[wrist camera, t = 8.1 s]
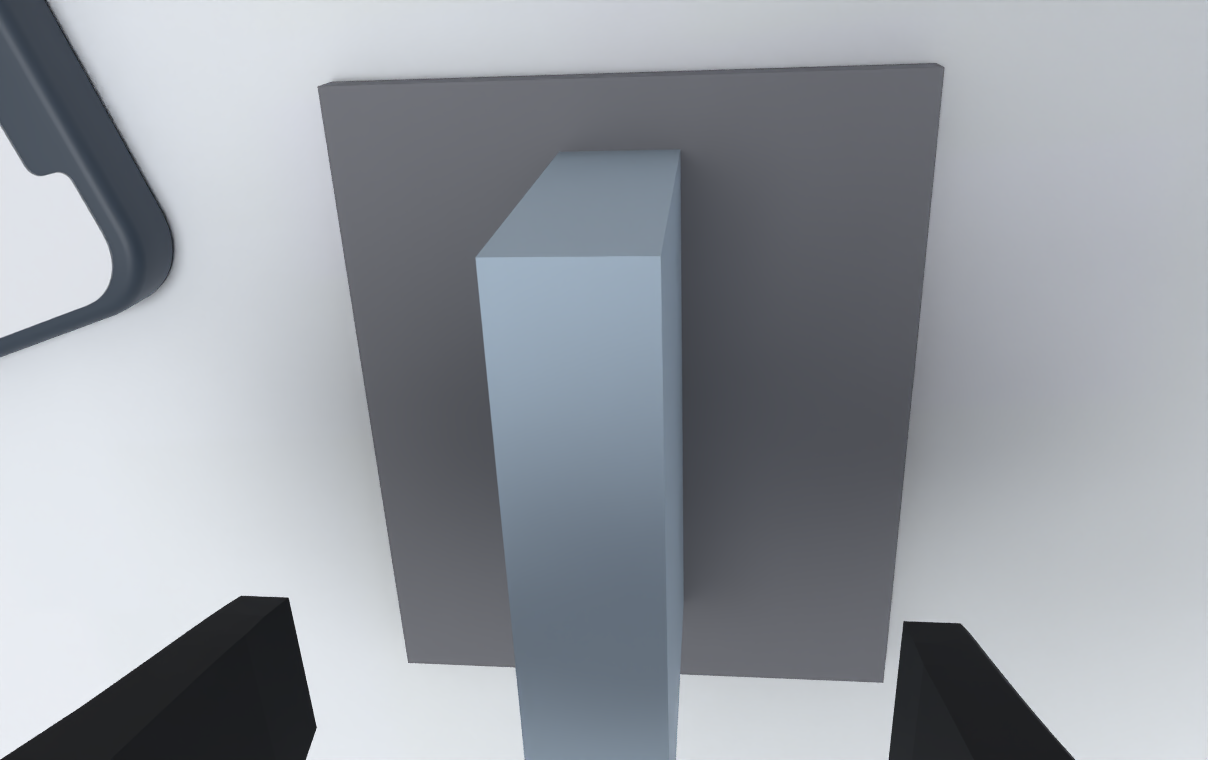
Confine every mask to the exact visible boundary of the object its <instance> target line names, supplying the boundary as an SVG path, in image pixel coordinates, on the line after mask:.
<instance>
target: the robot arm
mask: <svg viewBox="0 0 1208 760" xmlns="http://www.w3.org/2000/svg"><path fill="white" fill-rule="evenodd" d="M316 728H317V727H316V722H315V718H314V713H313V708H312V704H311V699H310V695H309V690H308V685H307V681H306V676H305V671H304V667H303V662H302V658H301V653H300V648H299V644H298V639H297V634H296V630H295V625H294V621H293V616H292V611H291V607H290V602H289V598H284V597H258V596H240V597H238V598H237V599H235V600H234V601H232V602H230V603H229V604H227V605H226V606H224V607H223V608H221V609H220V610H218V611H217V612H215V613H214V614H212V615H211V616H209V617H208V618H206V619H205V620H203V621H202V622H201V623H199V624H198V625H196V626H195V627H193V628H192V629H191V630H189V631H188V632H186V633H185V634H184V635H182V636H181V637H179V638H178V639H177V640H175V641H174V642H172V643H171V644H169V645H168V646H167V647H165V648H164V649H162V650H161V651H160V652H158V653H157V654H155V655H154V656H153V657H151V658H150V659H148V660H147V661H146V662H144V663H143V664H141V665H140V666H139V667H137V668H136V669H134V670H133V671H131V672H130V673H129V674H127V675H126V676H124V677H123V678H121V679H120V680H119V681H117V682H116V683H114V684H113V685H112V686H110V687H109V688H107V689H106V690H104V691H103V692H102V693H100V694H99V695H97V696H96V697H94V698H93V699H92V700H90V701H89V702H87V703H86V704H84V705H83V706H81V707H80V708H79V709H77V710H76V711H74V712H72V713H71V714H69V715H68V716H66V717H65V718H63V719H62V720H60V721H59V722H57V723H56V724H54V725H53V726H51V727H50V728H48V729H46V730H45V731H43V732H42V733H40V734H39V735H37V736H36V737H34V738H33V739H31V740H30V741H28V742H27V743H25V744H24V745H22V746H20V747H19V748H17V749H16V750H14V751H13V752H11V753H10V754H8V755H7V756H5V757H4V758H2V759H1V760H306V757H307V754H308V751H309V748H310V746H311V743H312V740H313V737H314V734H315V731H316ZM889 760H1075V759H1074V758H1073V757H1072V756H1071V754H1070V753H1069V752H1068V751H1067V750H1066V749H1065V748H1064V747H1063V745H1062V744H1061V743H1060V742H1059V741H1058V740H1057V739H1056V738H1055V737H1054V735H1053V734H1052V733H1051V732H1050V731H1049V730H1048V728H1047V727H1046V726H1045V725H1044V724H1043V723H1042V721H1041V720H1040V719H1039V718H1038V717H1037V716H1036V714H1035V713H1034V712H1033V711H1032V710H1031V708H1030V707H1029V706H1028V705H1027V704H1026V702H1025V701H1024V700H1023V699H1022V698H1021V696H1020V695H1019V694H1018V693H1017V692H1016V690H1015V689H1014V688H1013V687H1012V685H1011V684H1010V683H1009V682H1008V680H1007V679H1006V678H1005V677H1004V676H1003V674H1002V673H1001V672H1000V671H999V669H998V668H997V667H996V666H995V664H994V663H993V662H992V661H991V659H990V658H989V657H988V656H987V654H986V653H985V652H984V650H983V649H982V648H981V647H980V645H979V644H978V643H977V642H976V640H975V639H974V638H973V637H972V635H971V634H970V633H969V632H968V631H967V630H966V629H965V628H964V627H963V626H962V625H961V624H959V623H933V622H907V621H904V623H903V632H902V641H901V650H900V660H899V669H898V678H897V688H896V697H895V706H894V715H893V725H892V734H891V743H890V752H889Z"/></svg>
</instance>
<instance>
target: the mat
mask: <svg viewBox="0 0 1208 760" xmlns="http://www.w3.org/2000/svg"><path fill="white" fill-rule="evenodd" d="M943 76H944V67H943V66H941V65H939V64H937V63H928V64H896V65H864V66H832V67H799V68H767V69H735V70H703V71H671V72H638V73H606V74H574V75H542V76H509V77H477V78H445V79H413V80H380V81H348V82H330V83H327V84H324V85H321V86H318V92H319V99H320V105H321V111H322V118H323V124H324V130H325V137H326V143H327V150H328V156H329V162H330V169H331V175H332V181H333V188H334V194H335V200H336V207H337V213H338V219H339V226H340V232H341V239H342V245H343V251H344V258H345V264H346V270H347V277H348V283H349V289H350V296H351V302H352V308H353V315H354V321H355V328H356V334H357V340H358V347H359V353H360V359H361V366H362V372H363V378H364V385H365V391H366V398H367V404H368V410H369V417H370V423H371V429H372V436H373V442H374V448H375V455H376V461H377V467H378V474H379V480H380V487H381V493H382V499H383V506H384V512H385V518H386V525H387V531H388V537H389V544H390V550H391V556H392V563H393V569H394V576H395V582H396V588H397V595H398V601H399V607H400V614H401V620H402V626H403V633H404V639H405V645H406V652H407V658H408V663H425V664H449V665H473V666H497V667H516V665H515V655H514V645H513V635H512V625H511V614H510V604H509V594H508V584H507V574H506V564H505V553H504V543H503V533H502V523H501V513H500V503H499V492H498V482H497V472H496V462H495V452H494V441H493V431H492V421H491V411H490V401H489V391H488V380H487V370H486V360H485V350H484V340H483V330H482V319H481V309H480V299H479V289H478V279H477V269H476V258H475V257H476V256H477V255H478V254H479V252H480V251H481V250H482V249H483V247H484V246H485V245H486V244H487V242H488V241H489V240H490V238H491V237H492V236H493V235H494V233H495V232H496V231H497V230H498V228H499V227H500V226H501V225H502V223H503V222H504V221H505V220H506V218H507V217H508V216H509V214H510V213H511V212H512V211H513V209H514V208H515V207H516V206H517V204H518V203H519V202H520V201H521V199H522V198H523V197H524V196H525V194H526V193H527V192H528V190H529V189H530V188H531V187H532V185H533V184H534V183H535V182H536V180H537V179H538V178H539V177H540V175H541V174H542V173H543V172H544V170H545V169H546V168H547V166H548V165H549V164H550V163H551V161H552V160H553V159H554V158H555V156H556V155H557V154H558V153H559V152H580V151H629V150H678V149H680V161H681V297H682V433H683V569H684V607H683V627H682V646H681V666H680V674H689V675H713V676H737V677H761V678H785V679H809V680H833V681H857V682H881V683H883V680H884V670H885V660H886V650H887V640H888V630H889V620H890V610H891V600H892V590H893V580H894V569H895V559H896V549H897V539H898V529H899V519H900V509H901V499H902V489H903V479H904V469H905V459H906V449H907V439H908V429H909V418H910V408H911V398H912V388H913V378H914V368H915V358H916V348H917V338H918V328H919V318H920V308H921V298H922V288H923V278H924V267H925V257H926V247H927V237H928V227H929V217H930V207H931V197H932V187H933V177H934V167H935V157H936V147H937V137H938V126H939V116H940V106H941V96H942V86H943Z"/></svg>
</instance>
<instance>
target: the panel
mask: <svg viewBox="0 0 1208 760" xmlns="http://www.w3.org/2000/svg"><path fill="white" fill-rule="evenodd" d="M475 258H476V269H477V279H478V289H479V299H480V309H481V319H482V330H483V340H484V350H485V360H486V370H487V380H488V391H489V401H490V411H491V421H492V431H493V441H494V452H495V462H496V472H497V482H498V492H499V503H500V513H501V523H502V533H503V543H504V553H505V564H506V574H507V584H508V594H509V604H510V614H511V625H512V635H513V645H514V655H515V665H516V675H517V686H518V696H519V706H520V716H521V726H522V737H523V747H524V757H525V760H676V745H677V725H678V705H679V686H680V666H681V646H682V627H683V607H684V569H683V433H682V297H681V161H680V149H678V150H629V151H580V152H559V153H558V154H557V155H556V156H555V158H554V159H553V160H552V161H551V163H550V164H549V165H548V166H547V168H546V169H545V170H544V172H543V173H542V174H541V175H540V177H539V178H538V179H537V180H536V182H535V183H534V184H533V185H532V187H531V188H530V189H529V190H528V192H527V193H526V194H525V196H524V197H523V198H522V199H521V201H520V202H519V203H518V204H517V206H516V207H515V208H514V209H513V211H512V212H511V213H510V214H509V216H508V217H507V218H506V220H505V221H504V222H503V223H502V225H501V226H500V227H499V228H498V230H497V231H496V232H495V233H494V235H493V236H492V237H491V238H490V240H489V241H488V242H487V244H486V245H485V246H484V247H483V249H482V250H481V251H480V252H479V254H478V255H477V256H476V257H475Z"/></svg>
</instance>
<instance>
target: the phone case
mask: <svg viewBox="0 0 1208 760" xmlns="http://www.w3.org/2000/svg"><path fill="white" fill-rule="evenodd" d="M172 254H173V250H172V239H171V235H170V231H169V227H168V224H167V222H166V220H165V218H164V216H163V213H162V211H161V210H160V208H159V206H158V204H157V202H156V201H155V199H154V197H153V195H152V193H151V192H150V190H149V188H148V186H147V184H146V183H145V181H144V179H143V177H142V175H141V174H140V172H139V170H138V168H137V166H136V165H135V163H134V161H133V159H132V157H131V156H130V154H129V152H128V150H127V148H126V146H125V145H124V143H123V141H122V139H121V137H120V136H119V134H118V132H117V130H116V128H115V127H114V125H113V123H112V121H111V119H110V118H109V116H108V114H107V112H106V110H105V109H104V107H103V105H102V103H101V101H100V100H99V98H98V96H97V94H96V92H95V91H94V89H93V87H92V85H91V83H90V82H89V80H88V78H87V76H86V74H85V73H84V71H83V69H82V67H81V65H80V64H79V62H78V60H77V58H76V56H75V55H74V53H73V51H72V49H71V47H70V46H69V44H68V42H67V40H66V38H65V37H64V35H63V33H62V31H61V29H60V28H59V26H58V24H57V22H56V20H55V18H54V17H53V15H52V13H51V11H50V9H49V8H48V6H47V4H46V2H45V0H0V357H2V356H5V355H8V354H10V353H13V352H16V351H19V350H21V349H24V348H27V347H29V346H32V345H35V344H38V343H40V342H43V341H46V340H48V339H51V338H54V337H57V336H59V335H62V334H65V333H67V332H70V331H73V330H75V329H78V328H81V327H84V326H86V325H89V324H92V323H94V322H97V321H100V320H103V319H105V318H108V317H111V316H113V315H116V314H118V313H120V312H122V311H124V310H126V309H128V308H129V307H131V306H133V305H134V304H136V303H138V302H139V301H141V300H143V299H144V298H146V297H148V296H150V295H151V294H152V293H153V292H154V291H155V290H157V289H158V288H159V287H160V285H161V284H162V283H163V281H164V280H165V278H166V277H167V275H168V272H169V269H170V267H171V262H172Z"/></svg>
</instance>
